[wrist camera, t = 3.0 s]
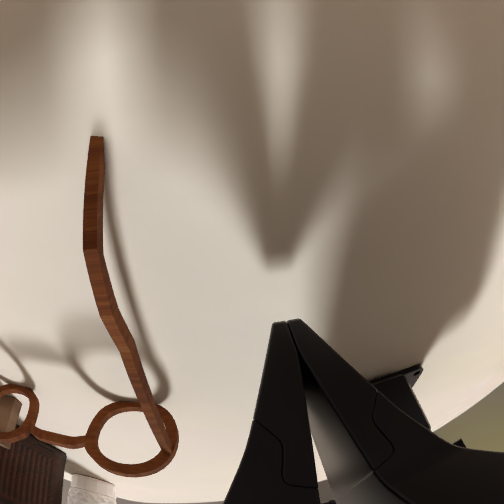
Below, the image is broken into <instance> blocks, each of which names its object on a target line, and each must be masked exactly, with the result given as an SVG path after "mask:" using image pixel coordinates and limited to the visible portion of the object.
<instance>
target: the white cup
mask: <svg viewBox="0 0 504 504" xmlns="http://www.w3.org/2000/svg"><path fill="white" fill-rule="evenodd" d="M67 504H117V503H116V486H114V485H113V484H110V483H108V482H105V481H102V480H99V479H95V478H92V477H88V476H84V475H79V474H73V475H72V479H71V488H70V489H69V495H68V500H67Z"/></svg>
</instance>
